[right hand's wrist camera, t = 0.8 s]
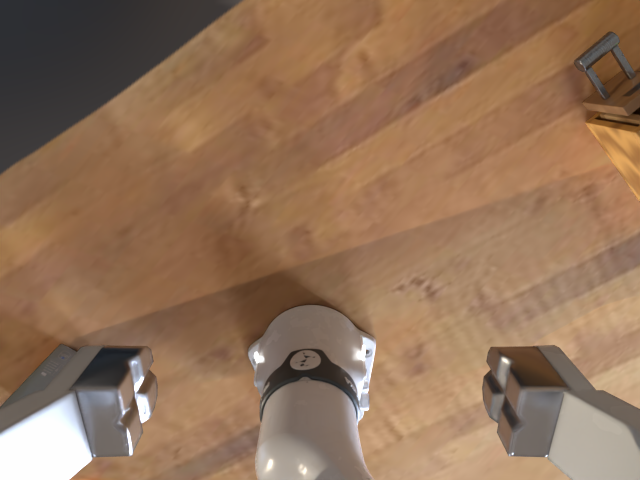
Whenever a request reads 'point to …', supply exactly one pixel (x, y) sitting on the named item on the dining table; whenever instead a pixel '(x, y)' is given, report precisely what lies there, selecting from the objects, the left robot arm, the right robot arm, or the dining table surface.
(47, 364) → the hard drive box
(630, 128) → the wooden drawer cabinet
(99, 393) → the right robot arm
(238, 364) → the dining table surface
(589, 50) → the drawer
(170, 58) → the dining table surface
